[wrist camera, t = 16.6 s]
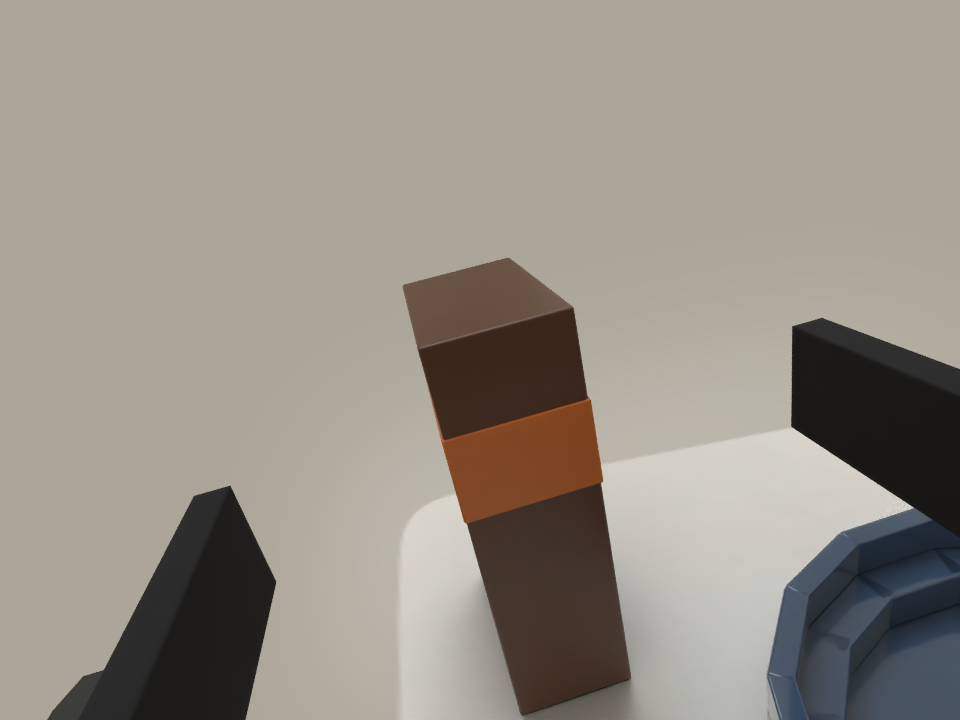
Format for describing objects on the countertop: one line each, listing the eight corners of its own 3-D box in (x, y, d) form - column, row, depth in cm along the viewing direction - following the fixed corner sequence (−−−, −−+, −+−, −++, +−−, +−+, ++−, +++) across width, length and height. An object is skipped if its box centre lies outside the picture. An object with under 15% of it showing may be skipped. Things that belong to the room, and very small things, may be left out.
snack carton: (567, 545, 22) (510, 256, 17) (634, 679, 16) (577, 306, 12) (481, 572, 22) (400, 284, 17) (520, 718, 16) (415, 350, 11)
